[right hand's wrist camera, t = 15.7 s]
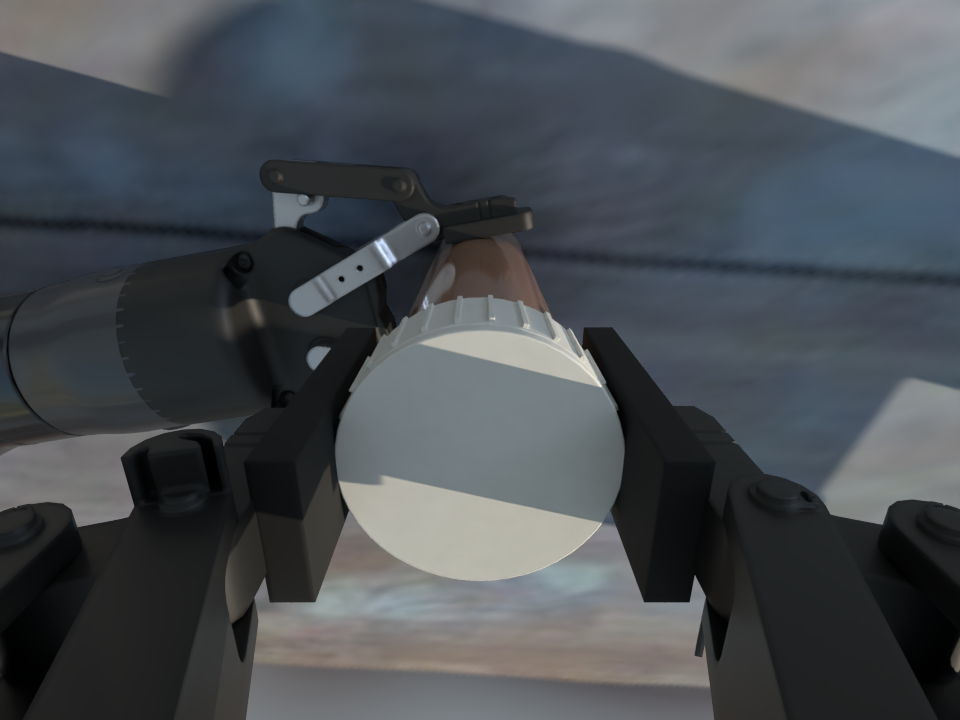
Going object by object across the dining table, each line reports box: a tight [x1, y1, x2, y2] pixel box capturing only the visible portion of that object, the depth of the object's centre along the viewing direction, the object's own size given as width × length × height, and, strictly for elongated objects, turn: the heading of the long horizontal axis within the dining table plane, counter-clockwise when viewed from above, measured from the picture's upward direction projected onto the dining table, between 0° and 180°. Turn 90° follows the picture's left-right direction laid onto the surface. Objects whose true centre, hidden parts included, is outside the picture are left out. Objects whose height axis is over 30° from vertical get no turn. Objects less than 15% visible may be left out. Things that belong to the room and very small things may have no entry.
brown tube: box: [408, 233, 554, 320], centre depth 20 cm, size 5×5×19 cm
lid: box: [335, 295, 625, 581], centre depth 11 cm, size 6×6×2 cm
